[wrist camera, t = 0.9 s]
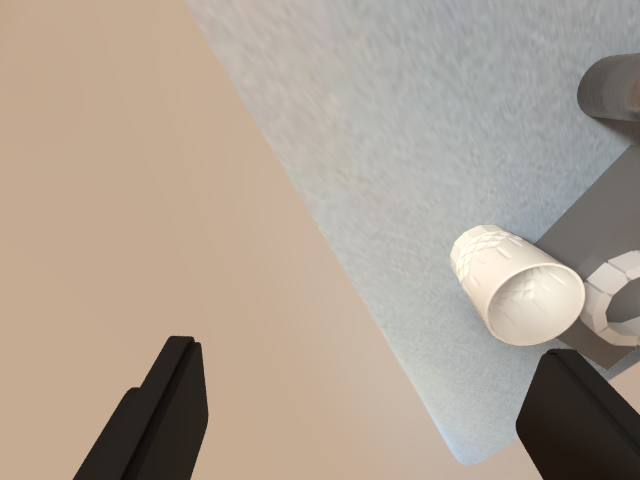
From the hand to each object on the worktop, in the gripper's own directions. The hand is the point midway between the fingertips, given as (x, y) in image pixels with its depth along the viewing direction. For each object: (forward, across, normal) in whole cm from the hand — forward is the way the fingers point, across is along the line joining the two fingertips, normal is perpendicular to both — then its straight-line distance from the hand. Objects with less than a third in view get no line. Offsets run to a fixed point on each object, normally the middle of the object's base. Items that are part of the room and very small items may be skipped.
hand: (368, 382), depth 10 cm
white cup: (+26, -16, +8) cm, 32 cm away
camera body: (+26, -29, +7) cm, 39 cm away
